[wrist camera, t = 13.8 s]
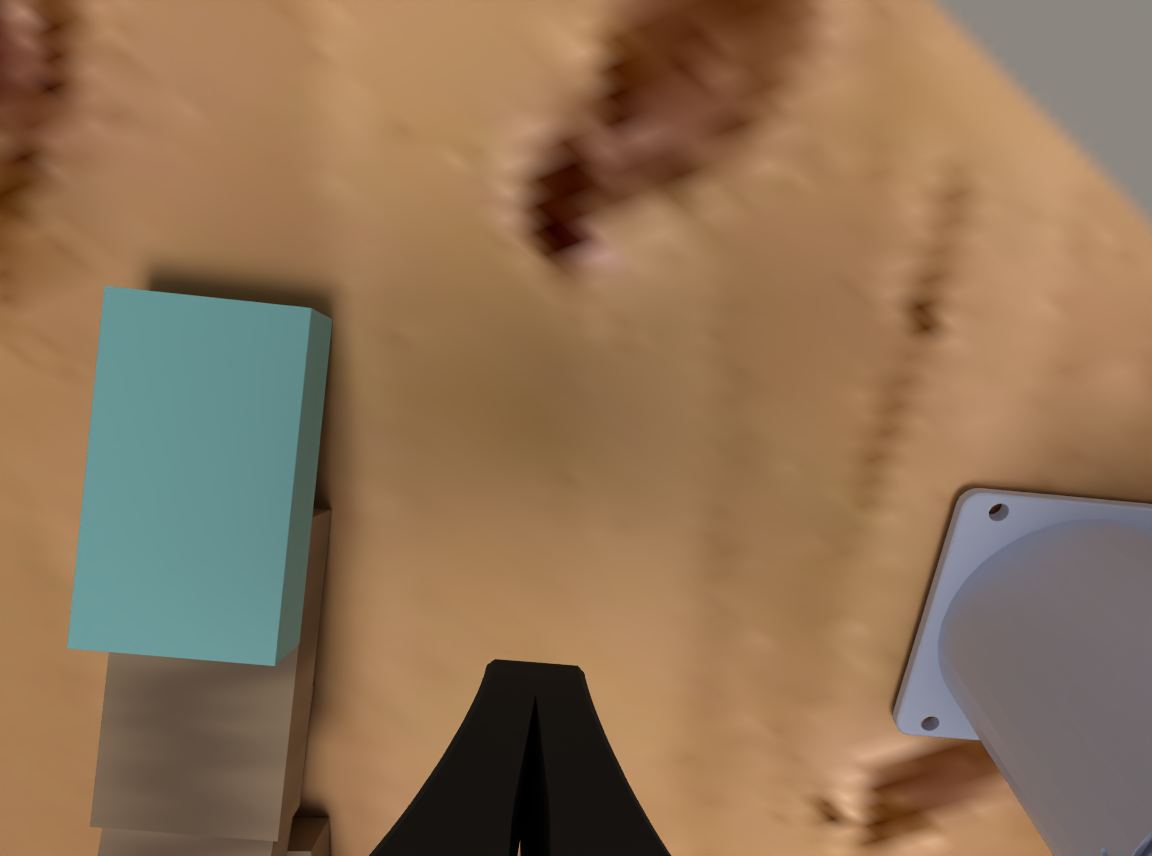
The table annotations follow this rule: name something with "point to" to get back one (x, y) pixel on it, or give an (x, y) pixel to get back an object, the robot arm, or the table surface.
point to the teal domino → (199, 477)
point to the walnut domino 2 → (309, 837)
